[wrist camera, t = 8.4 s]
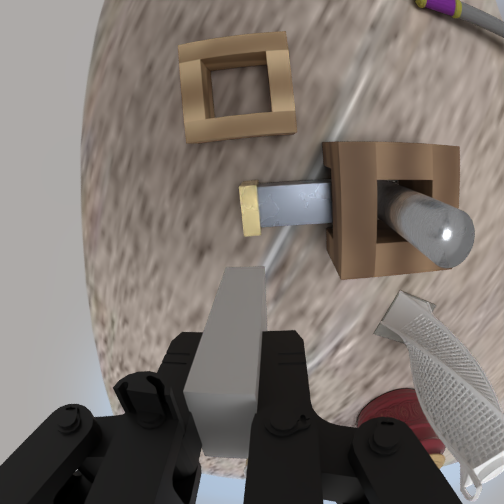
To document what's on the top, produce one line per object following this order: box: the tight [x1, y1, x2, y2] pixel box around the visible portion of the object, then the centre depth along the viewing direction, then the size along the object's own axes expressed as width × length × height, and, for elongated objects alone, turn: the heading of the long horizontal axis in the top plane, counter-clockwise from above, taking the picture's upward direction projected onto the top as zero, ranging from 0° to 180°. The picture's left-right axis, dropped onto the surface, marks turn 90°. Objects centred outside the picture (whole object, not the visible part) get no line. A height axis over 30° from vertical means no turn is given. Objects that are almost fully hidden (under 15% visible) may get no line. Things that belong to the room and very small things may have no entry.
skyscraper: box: [373, 290, 504, 501], centre depth 23 cm, size 8×8×28 cm
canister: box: [357, 389, 446, 469], centre depth 35 cm, size 13×13×18 cm
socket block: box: [322, 142, 460, 280], centre depth 27 cm, size 12×12×8 cm
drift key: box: [239, 179, 333, 236], centre depth 30 cm, size 12×5×4 cm, turn 95°
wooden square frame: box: [178, 31, 297, 144], centre depth 26 cm, size 10×10×5 cm
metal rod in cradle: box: [377, 180, 475, 268], centre depth 24 cm, size 4×4×16 cm
